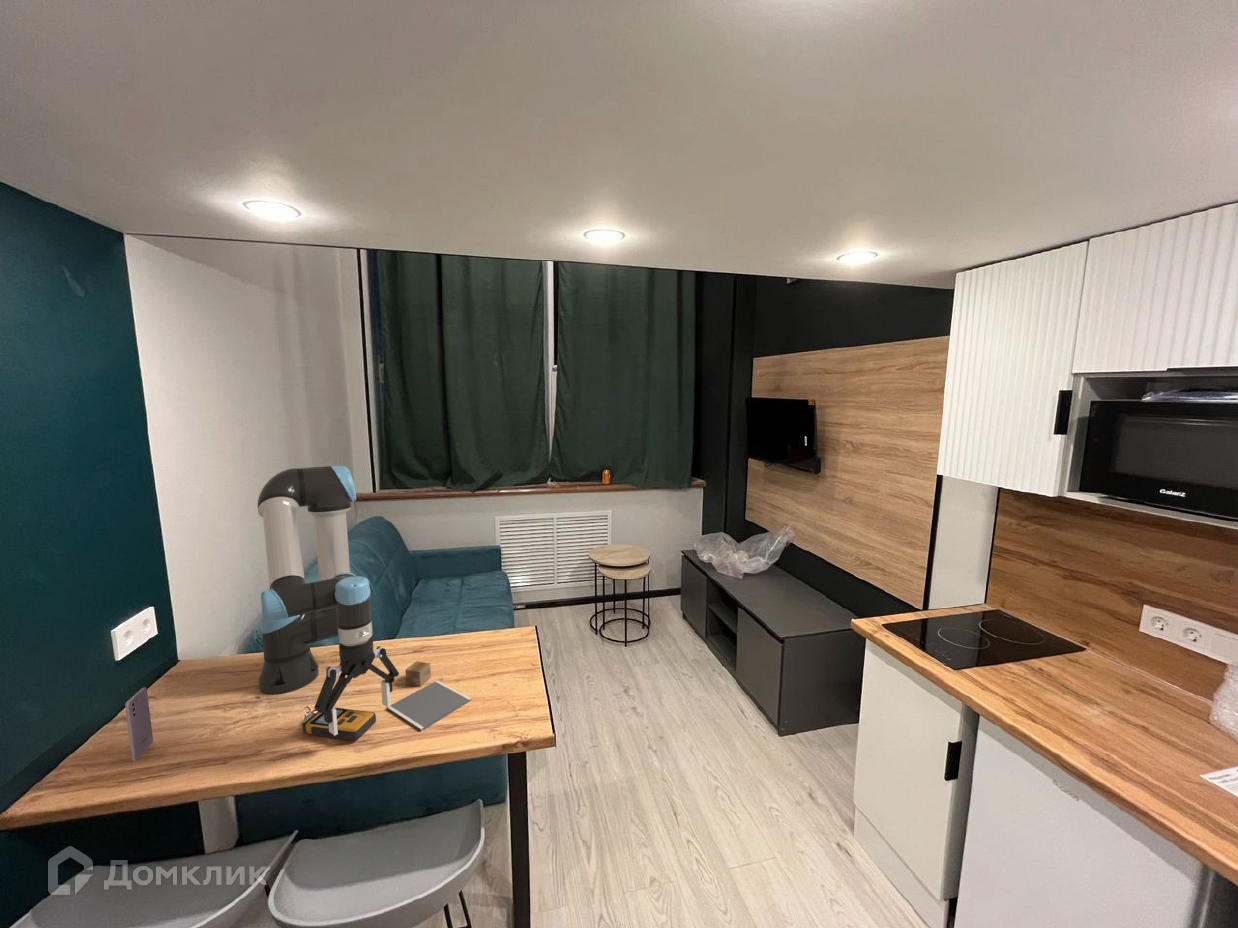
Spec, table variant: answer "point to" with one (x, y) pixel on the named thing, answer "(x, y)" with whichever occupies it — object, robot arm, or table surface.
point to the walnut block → (418, 674)
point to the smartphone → (139, 723)
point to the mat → (429, 705)
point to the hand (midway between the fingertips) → (361, 718)
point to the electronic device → (341, 724)
